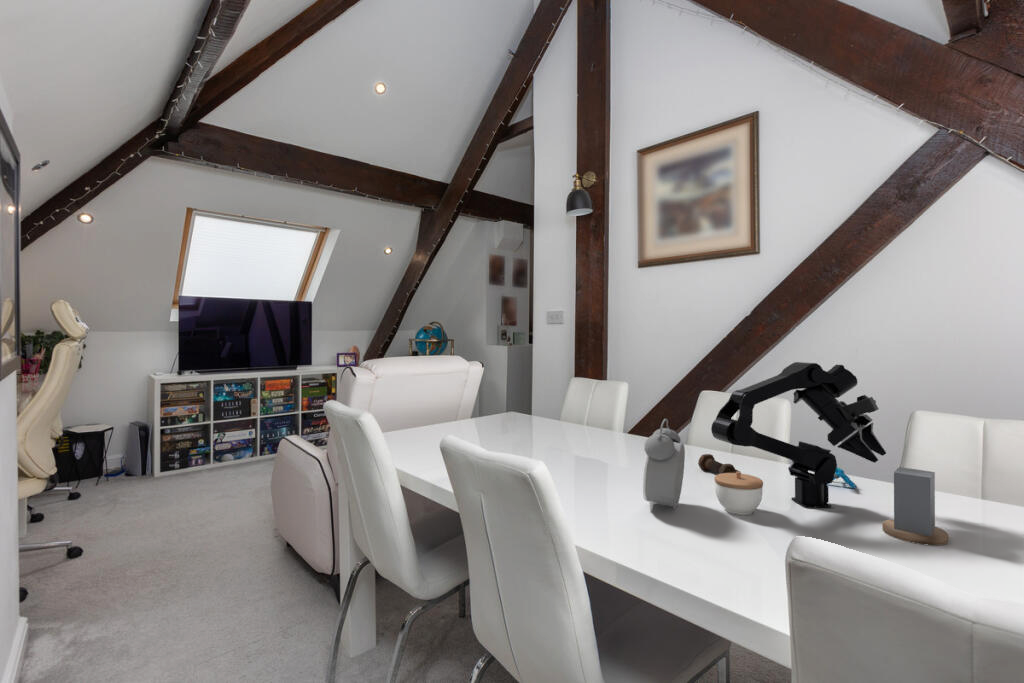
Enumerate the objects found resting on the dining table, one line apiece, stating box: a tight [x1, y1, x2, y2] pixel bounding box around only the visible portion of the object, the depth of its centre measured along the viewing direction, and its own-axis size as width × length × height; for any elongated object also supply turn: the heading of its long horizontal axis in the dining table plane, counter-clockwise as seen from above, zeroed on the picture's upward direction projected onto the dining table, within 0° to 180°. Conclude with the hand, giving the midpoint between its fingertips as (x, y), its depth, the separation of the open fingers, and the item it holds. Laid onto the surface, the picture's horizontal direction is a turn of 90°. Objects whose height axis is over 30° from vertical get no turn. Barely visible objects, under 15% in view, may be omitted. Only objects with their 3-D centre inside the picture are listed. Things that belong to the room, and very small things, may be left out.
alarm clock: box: [642, 418, 686, 512], centre depth 125 cm, size 16×9×22 cm, turn 154°
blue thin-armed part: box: [827, 466, 857, 489], centre depth 142 cm, size 11×6×10 cm
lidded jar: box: [714, 471, 764, 516], centre depth 122 cm, size 11×11×9 cm
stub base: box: [881, 518, 950, 546], centre depth 107 cm, size 11×11×5 cm
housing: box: [893, 466, 936, 537], centre depth 107 cm, size 6×6×12 cm
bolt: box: [697, 453, 741, 475], centre depth 153 cm, size 6×5×15 cm
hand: (880, 457), depth 117 cm, fingers open, 9 cm apart
